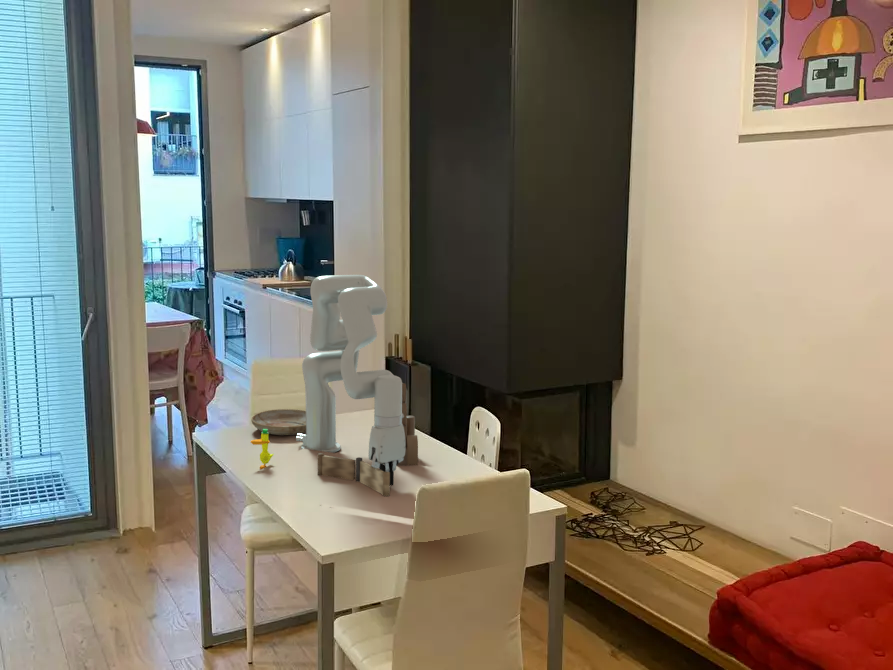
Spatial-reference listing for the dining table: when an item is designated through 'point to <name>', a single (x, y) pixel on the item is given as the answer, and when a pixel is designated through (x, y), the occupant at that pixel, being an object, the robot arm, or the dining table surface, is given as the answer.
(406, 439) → the wooden toy
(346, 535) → the dining table surface
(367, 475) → the fence gate
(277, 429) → the ceramic bowl
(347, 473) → the fence fixed
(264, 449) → the toy figure
